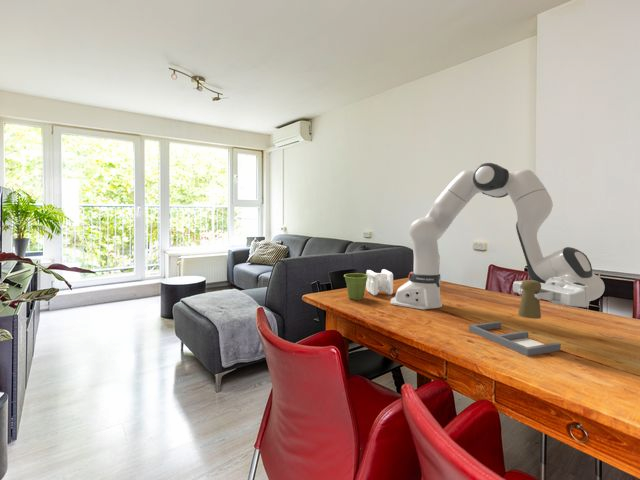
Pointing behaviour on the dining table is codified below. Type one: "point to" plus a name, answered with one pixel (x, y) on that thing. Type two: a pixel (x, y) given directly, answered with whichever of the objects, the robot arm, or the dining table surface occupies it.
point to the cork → (530, 300)
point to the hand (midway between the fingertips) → (527, 294)
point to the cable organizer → (379, 282)
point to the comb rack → (514, 340)
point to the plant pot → (356, 285)
